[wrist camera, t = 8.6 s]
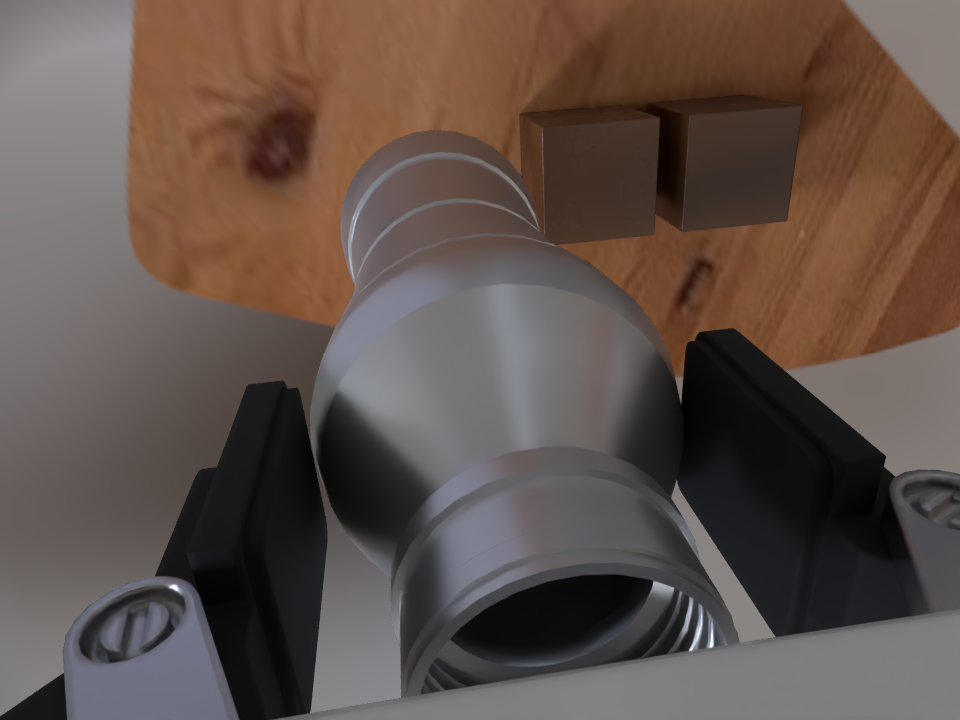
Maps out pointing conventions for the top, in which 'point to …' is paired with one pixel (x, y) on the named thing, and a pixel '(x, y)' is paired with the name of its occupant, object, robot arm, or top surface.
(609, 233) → the walnut block
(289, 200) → the top surface
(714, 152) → the walnut block
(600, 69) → the top surface
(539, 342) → the silver bottle
